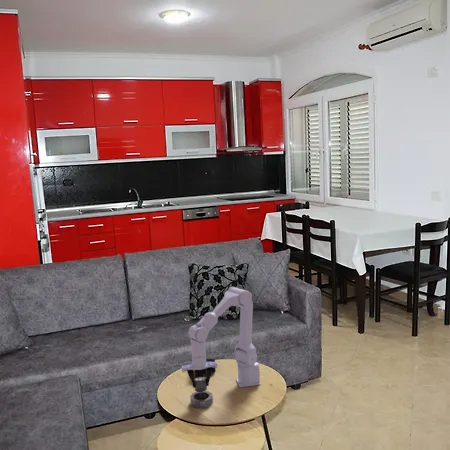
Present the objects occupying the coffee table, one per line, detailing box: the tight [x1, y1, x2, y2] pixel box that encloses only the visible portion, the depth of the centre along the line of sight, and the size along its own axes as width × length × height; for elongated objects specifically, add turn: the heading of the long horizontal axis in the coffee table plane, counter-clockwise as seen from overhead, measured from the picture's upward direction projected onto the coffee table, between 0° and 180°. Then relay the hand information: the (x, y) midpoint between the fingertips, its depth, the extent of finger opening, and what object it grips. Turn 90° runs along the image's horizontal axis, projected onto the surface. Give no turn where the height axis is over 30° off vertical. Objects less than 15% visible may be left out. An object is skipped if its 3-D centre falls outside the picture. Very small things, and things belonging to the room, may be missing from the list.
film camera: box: [194, 358, 216, 379], centre depth 220 cm, size 15×10×9 cm, turn 179°
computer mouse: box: [194, 376, 208, 392], centre depth 192 cm, size 5×5×4 cm
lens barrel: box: [190, 390, 214, 410], centre depth 193 cm, size 9×9×3 cm
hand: (200, 385), depth 192 cm, fingers closed on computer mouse, 5 cm apart
